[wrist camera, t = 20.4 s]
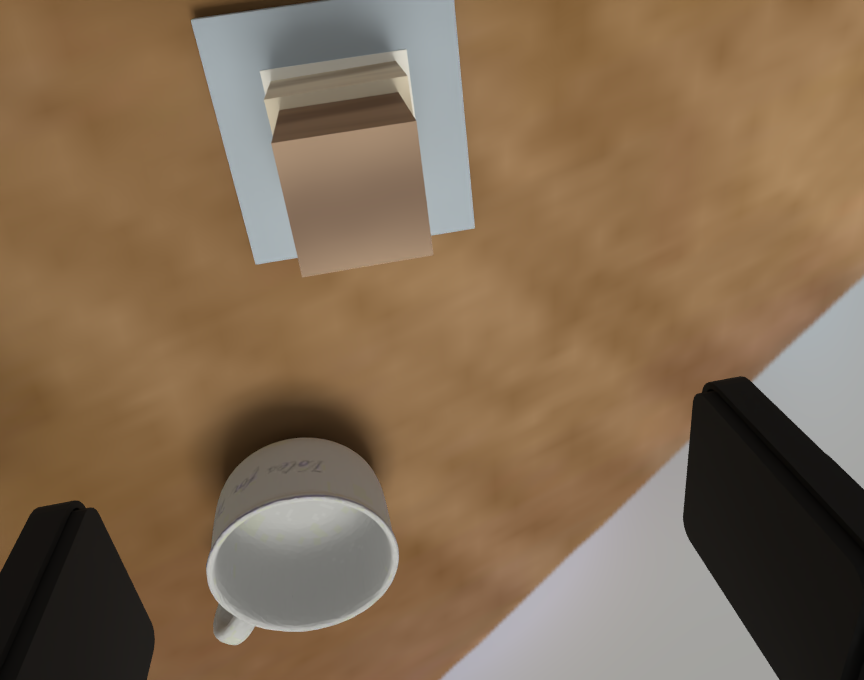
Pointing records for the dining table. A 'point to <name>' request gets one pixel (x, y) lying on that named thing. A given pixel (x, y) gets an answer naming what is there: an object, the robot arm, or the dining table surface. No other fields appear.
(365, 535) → the teacup
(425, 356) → the dining table surface
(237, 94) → the plate
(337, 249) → the block top
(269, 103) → the block base
